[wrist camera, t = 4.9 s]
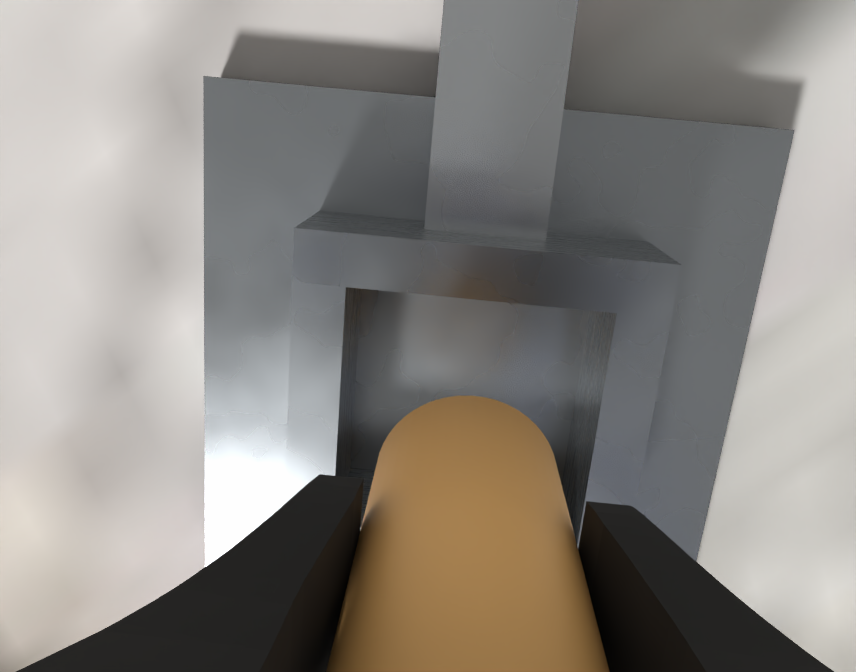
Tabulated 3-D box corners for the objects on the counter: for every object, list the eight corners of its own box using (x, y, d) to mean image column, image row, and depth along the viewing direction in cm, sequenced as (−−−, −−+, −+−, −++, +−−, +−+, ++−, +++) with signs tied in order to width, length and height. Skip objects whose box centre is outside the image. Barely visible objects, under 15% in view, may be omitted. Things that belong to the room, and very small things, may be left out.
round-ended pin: (566, 401, 12) (706, 808, 5) (548, 563, 12) (646, 1094, 6) (377, 390, 12) (261, 775, 5) (374, 551, 13) (271, 1059, 6)
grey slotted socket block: (794, 33, 15) (890, 11, 12) (670, 602, 19) (714, 705, 16) (219, -18, 15) (150, -55, 12) (218, 555, 19) (166, 647, 16)
